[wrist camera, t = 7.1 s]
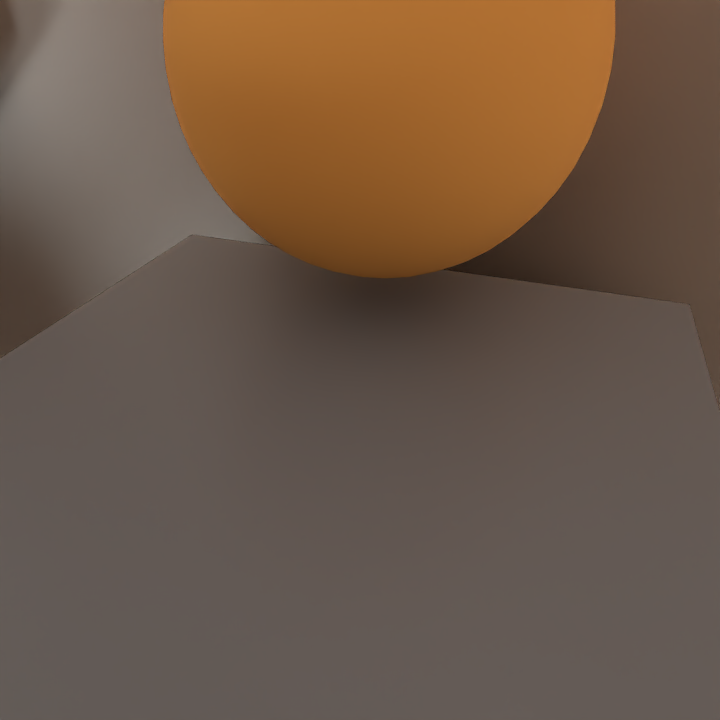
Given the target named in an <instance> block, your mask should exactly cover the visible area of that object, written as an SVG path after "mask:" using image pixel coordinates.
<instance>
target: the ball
mask: <svg viewBox="0 0 720 720" xmlns="http://www.w3.org/2000/svg"><path fill="white" fill-rule="evenodd" d="M614 43H615V0H165V2H164V11H163V45H164V55H165V65H166V73H167V78H168V83H169V88H170V92H171V97H172V102H173V105H174V108H175V111H176V115H177V118H178V121H179V124H180V127H181V129H182V132H183V134H184V136H185V139H186V141H187V143H188V146H189V148H190V150H191V152H192V154H193V156H194V158H195V159H196V161H197V163H198V165H199V167H200V168H201V170H202V172H203V173H204V175H205V176H206V178H207V179H208V181H209V182H210V183H211V185H212V186H213V188H214V189H215V191H216V192H217V193H218V194H219V196H220V197H221V198H222V199H223V200H224V201H225V203H226V204H227V205H228V206H229V207H230V208H231V210H232V211H233V212H234V213H235V214H236V215H237V216H238V217H239V218H240V219H241V220H243V221H244V222H245V223H246V224H247V225H248V226H249V227H250V228H251V229H252V230H254V231H255V232H256V233H257V234H259V235H260V236H261V237H263V238H264V239H265V240H267V241H268V242H269V243H271V244H272V245H274V246H276V247H277V248H279V249H281V250H282V251H284V252H286V253H287V254H289V255H291V256H293V257H296V258H298V259H300V260H302V261H304V262H307V263H309V264H311V265H314V266H317V267H321V268H324V269H327V270H330V271H334V272H338V273H343V274H349V275H354V276H359V277H370V278H400V277H411V276H416V275H422V274H427V273H432V272H436V271H440V270H443V269H446V268H449V267H452V266H455V265H458V264H461V263H464V262H466V261H468V260H470V259H472V258H475V257H477V256H479V255H481V254H483V253H485V252H487V251H489V250H490V249H492V248H493V247H495V246H496V245H498V244H499V243H501V242H502V241H504V240H505V239H507V238H508V237H510V236H511V235H512V234H514V233H515V232H516V231H517V230H519V229H520V228H521V227H522V226H523V225H524V224H526V223H527V222H528V221H529V220H530V219H531V218H533V217H534V216H535V215H536V214H537V213H538V212H539V211H540V210H541V209H542V208H543V207H544V206H545V204H546V203H547V202H548V201H549V200H550V199H551V198H552V197H553V196H554V195H555V193H556V192H557V191H558V190H559V188H560V187H561V185H562V184H563V183H564V181H565V180H566V178H567V177H568V175H569V174H570V173H571V171H572V170H573V168H574V167H575V165H576V163H577V161H578V159H579V158H580V156H581V154H582V152H583V150H584V148H585V146H586V144H587V143H588V141H589V139H590V136H591V134H592V131H593V128H594V126H595V123H596V121H597V118H598V115H599V113H600V110H601V108H602V105H603V101H604V97H605V93H606V89H607V85H608V81H609V77H610V73H611V68H612V60H613V52H614Z"/></svg>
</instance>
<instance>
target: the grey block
mask: <svg viewBox="0 0 720 720" xmlns="http://www.w3.org/2000/svg"><path fill="white" fill-rule="evenodd" d="M0 720H720V410H719V407H718V403H717V400H716V396H715V393H714V389H713V386H712V382H711V378H710V375H709V371H708V368H707V364H706V361H705V357H704V354H703V350H702V347H701V343H700V340H699V336H698V333H697V329H696V326H695V322H694V319H693V315H692V311H691V308H690V304H685V303H677V302H670V301H663V300H656V299H649V298H642V297H635V296H627V295H620V294H613V293H606V292H599V291H592V290H584V289H577V288H570V287H563V286H556V285H549V284H542V283H534V282H527V281H520V280H513V279H506V278H499V277H491V276H484V275H477V274H470V273H463V272H456V271H449V270H440V271H436V272H432V273H427V274H422V275H416V276H411V277H400V278H370V277H359V276H354V275H349V274H343V273H338V272H334V271H330V270H327V269H324V268H321V267H317V266H314V265H311V264H309V263H307V262H304V261H302V260H300V259H298V258H296V257H293V256H291V255H289V254H287V253H286V252H284V251H282V250H281V249H279V248H277V247H276V246H270V245H263V244H255V243H248V242H241V241H234V240H227V239H220V238H213V237H205V236H198V235H191V236H189V237H187V238H186V239H184V240H183V241H181V242H180V243H178V244H177V245H175V246H174V247H172V248H170V249H169V250H167V251H166V252H164V253H163V254H161V255H160V256H158V257H156V258H155V259H153V260H152V261H150V262H149V263H147V264H146V265H144V266H143V267H141V268H139V269H138V270H136V271H135V272H133V273H132V274H130V275H129V276H127V277H126V278H124V279H122V280H121V281H119V282H118V283H116V284H115V285H113V286H112V287H110V288H108V289H107V290H105V291H104V292H102V293H101V294H99V295H98V296H96V297H95V298H93V299H91V300H90V301H88V302H87V303H85V304H84V305H82V306H81V307H79V308H77V309H76V310H74V311H73V312H71V313H70V314H68V315H67V316H65V317H64V318H62V319H60V320H59V321H57V322H56V323H54V324H53V325H51V326H50V327H48V328H46V329H45V330H43V331H42V332H40V333H39V334H37V335H36V336H34V337H33V338H31V339H29V340H28V341H26V342H25V343H23V344H22V345H20V346H19V347H17V348H16V349H14V350H12V351H11V352H9V353H8V354H6V355H5V356H3V357H2V358H0Z"/></svg>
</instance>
